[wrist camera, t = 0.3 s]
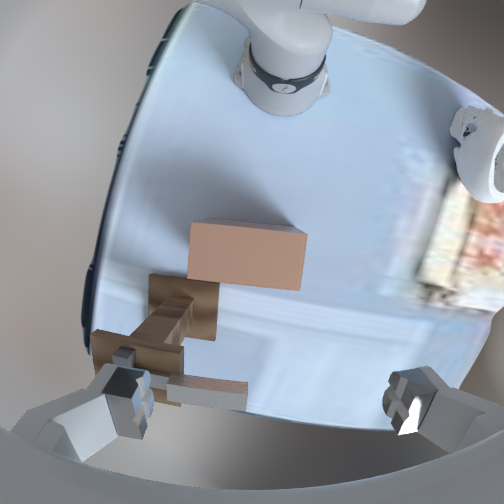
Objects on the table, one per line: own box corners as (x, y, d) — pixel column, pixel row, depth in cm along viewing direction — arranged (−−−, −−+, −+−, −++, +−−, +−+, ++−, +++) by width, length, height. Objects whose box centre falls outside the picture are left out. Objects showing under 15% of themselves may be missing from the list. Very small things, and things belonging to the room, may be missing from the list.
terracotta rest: (209, 217, 55) (190, 222, 40) (294, 226, 55) (307, 234, 40) (206, 259, 56) (187, 278, 41) (289, 268, 56) (299, 290, 41)
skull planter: (484, 106, 47) (535, 129, 31) (469, 178, 59) (512, 215, 43) (443, 92, 47) (495, 110, 32) (429, 171, 59) (472, 210, 44)
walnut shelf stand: (151, 273, 57) (71, 325, 29) (219, 282, 57) (183, 350, 29) (151, 328, 59) (85, 404, 31) (215, 338, 59) (184, 431, 30)
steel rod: (118, 361, 32) (110, 371, 29) (248, 382, 32) (247, 394, 29) (120, 377, 32) (112, 388, 30) (245, 398, 32) (245, 410, 30)
